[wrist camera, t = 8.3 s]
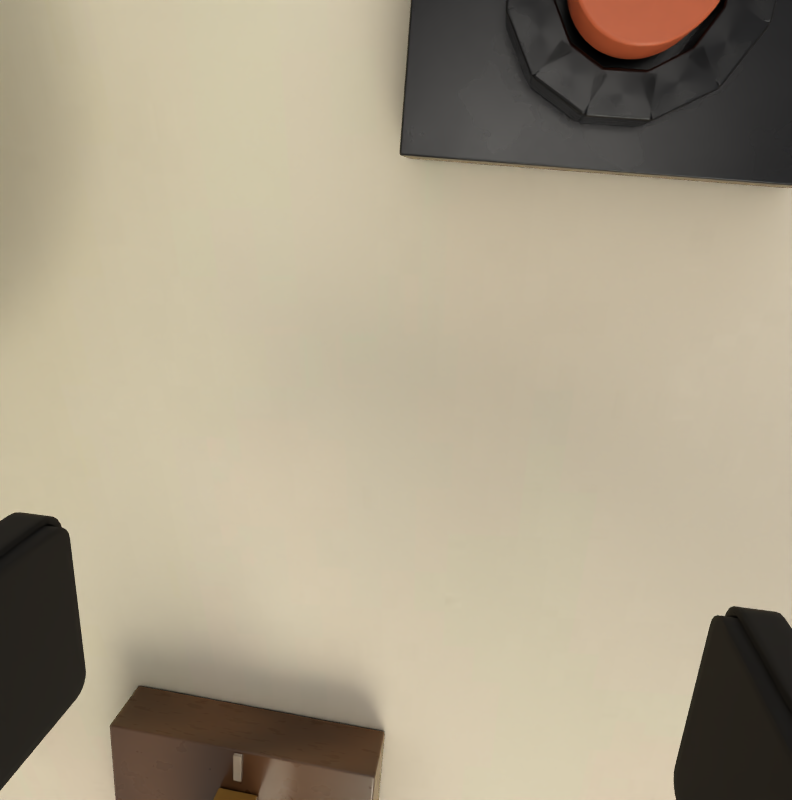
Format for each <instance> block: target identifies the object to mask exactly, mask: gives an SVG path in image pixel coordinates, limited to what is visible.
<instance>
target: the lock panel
mask: <svg viewBox="0 0 792 800" xmlns="http://www.w3.org/2000/svg"><path fill="white" fill-rule="evenodd" d="M110 733H111V746H112V759H113V771H114V784H115V796H116V800H213V799H214V797H215V795H216V793H217V791H218V789H219V788H223V789H228V790H233V791H237V792H242V793H247V794H252V795H257V800H378V799H379V789H380V778H381V767H382V756H383V746H384V735H385V734H384V732H383V731H378V730H373V729H367V728H362V727H357V726H351V725H346V724H340V723H335V722H330V721H324V720H319V719H314V718H308V717H303V716H298V715H292V714H287V713H282V712H276V711H271V710H266V709H260V708H255V707H250V706H244V705H239V704H233V703H228V702H223V701H217V700H212V699H207V698H201V697H196V696H191V695H185V694H180V693H175V692H169V691H164V690H159V689H153V688H148V687H142V686H139V687H138V688H137V689H136V690H135V692H134V693H133V695H132V696H131V697H130V699H129V700H128V701H127V703H126V704H125V705H124V707H123V708H122V710H121V711H120V712H119V714H118V715H117V716H116V718H115V719H114V721H113V722H112V723H111V725H110Z"/></svg>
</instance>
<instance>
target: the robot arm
mask: <svg viewBox="0 0 792 800" xmlns="http://www.w3.org/2000/svg"><path fill="white" fill-rule="evenodd" d="M85 676H86V669H85V660H84V652H83V644H82V635H81V627H80V619H79V610H78V602H77V594H76V585H75V577H74V569H73V560H72V552H71V544H70V537H69V533H68V532H67V530H66V529H64V528H62V527H61V524H60V522H59V521H58V519H56V518H54V517H51V516H43V515H36V514H28V513H13V514H11V515H9V516H7V517H6V518H4V519H3V520H1V521H0V790H1V789H2V788H3V787H4V785H5V784H6V783H7V782H8V781H9V779H10V778H11V777H12V776H13V775H14V773H15V772H16V771H17V770H18V768H19V767H20V766H21V765H22V764H23V762H24V761H25V760H26V759H27V758H28V756H29V755H30V754H31V753H32V752H33V750H34V749H35V748H36V747H37V746H38V744H39V743H40V742H41V741H42V740H43V738H44V737H45V736H46V735H47V734H48V732H49V731H50V730H51V729H52V727H53V726H54V725H55V724H56V723H57V721H58V720H59V719H60V718H61V717H62V715H63V714H64V713H65V712H66V711H67V709H68V708H69V707H70V706H71V705H72V703H73V702H74V701H75V700H76V698H77V697H78V696H79V694H80V692H81V690H82V688H83V685H84V682H85ZM674 790H675V796H676V800H792V628H791V627H790V625H789V624H788V622H787V621H786V619H785V618H784V617H783V616H782V615H781V614H780V613H777V612H773V611H765V610H757V609H750V608H742V607H735V606H733V607H731V608H729V610H728V611H727V612H726V615H725V616H718V615H717V616H714V618H713V619H712V621H711V624H710V627H709V632H708V636H707V640H706V644H705V648H704V652H703V656H702V660H701V664H700V668H699V672H698V676H697V680H696V684H695V688H694V692H693V696H692V700H691V704H690V708H689V712H688V716H687V720H686V724H685V728H684V732H683V736H682V740H681V744H680V748H679V752H678V756H677V760H676V764H675V770H674Z"/></svg>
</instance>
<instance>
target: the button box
mask: <svg viewBox="0 0 792 800" xmlns="http://www.w3.org/2000/svg"><path fill="white" fill-rule="evenodd" d="M400 155H402V156H405V157H408V158H411V159H424V160H437V161H449V162H462V163H475V164H488V165H500V166H513V167H526V168H539V169H551V170H564V171H577V172H590V173H602V174H615V175H628V176H641V177H653V178H666V179H679V180H692V181H705V182H717V183H730V184H743V185H756V186H768V187H781V188H792V0H720V2H719V3H718V5H717V6H716V7H715V9H714V10H713V11H712V12H711V13H710V15H709V16H708V17H707V18H706V19H705V20H704V21H703V22H702V23H701V24H699V25H698V26H697V27H696V28H695V29H694V30H692V31H691V32H690V33H689V34H688V35H686V36H685V37H684V38H683V39H682V40H680V41H679V42H678V43H676V44H675V45H674V46H672V47H670V48H669V49H667V50H665V51H663V52H661V53H659V54H656V55H653V56H650V57H647V58H641V59H619V58H615V57H611V56H608V55H606V54H603V53H601V52H599V51H598V50H596V49H595V48H593V47H592V46H591V45H590V44H589V43H587V42H586V41H585V39H584V38H583V37H582V36H581V35H580V33H579V32H578V30H577V28H576V27H575V25H574V23H573V20H572V18H571V15H570V12H569V8H568V3H567V0H411V8H410V22H409V35H408V48H407V62H406V75H405V88H404V102H403V115H402V128H401V142H400Z"/></svg>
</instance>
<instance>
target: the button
mask: <svg viewBox="0 0 792 800" xmlns="http://www.w3.org/2000/svg"><path fill="white" fill-rule="evenodd" d="M719 2H720V0H567V3H568V8H569V12H570V15H571V18H572V20H573V23H574V25H575V27H576V28H577V30H578V32H579V33H580V35H581V36H582V37H583V38H584V39H585V41H586V42H587V43H589V44H590V45H591V46H592V47H593V48H595V49H596V50H598V51H599V52H601V53H603V54H606V55H608V56H611V57H615V58H619V59H641V58H647V57H650V56H653V55H656V54H659V53H661V52H663V51H665V50H667V49H669V48H670V47H672V46H674V45H675V44H676V43H678V42H679V41H680V40H682V39H683V38H684V37H685V36H686V35H688V34H689V33H690V32H691V31H692V30H694V29H695V28H696V27H697V26H698V25H699V24H701V23H702V22H703V21H704V20H705V19H706V18H707V17H708V16H709V15H710V13H711V12H712V11H713V10H714V9H715V7H716V6H717V5H718V3H719Z"/></svg>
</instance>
